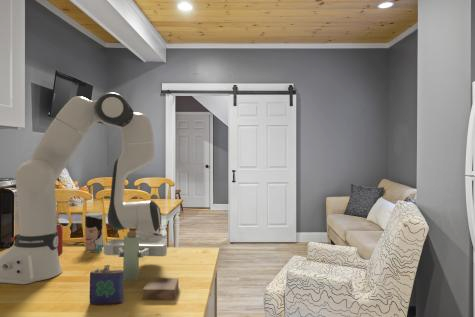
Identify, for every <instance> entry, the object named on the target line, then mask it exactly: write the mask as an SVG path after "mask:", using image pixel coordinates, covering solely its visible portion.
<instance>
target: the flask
mask: <svg viewBox="0 0 475 317" xmlns="http://www.w3.org/2000/svg"><path fill="white" fill-rule="evenodd" d="M110 267H111V265H110V264H106V265H104V266H103V268H102V269H100V268H96V269H94V270H91V271H90V272H89V305H91V306H105V305H107V306H111V305H119V304H120V305H122V304H123V303H124V300H125V296H124V295H125V294H124V290H125V288H124V287H125V286H124V283H125V282H124V281H125V280H124V271H123V269H116V270H114V269H113V270H110Z"/></svg>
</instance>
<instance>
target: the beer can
mask: <svg viewBox="0 0 475 317" xmlns="http://www.w3.org/2000/svg"><path fill="white" fill-rule="evenodd" d="M56 230H57V231H58V247H57V251H58V255H60V254H62V253H63V226H62V223H61V222H56Z"/></svg>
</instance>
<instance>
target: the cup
mask: <svg viewBox="0 0 475 317" xmlns="http://www.w3.org/2000/svg"><path fill="white" fill-rule="evenodd" d="M103 216H104V215H103V212H88V213H85V216H84V222H85V224H84V226H85V229H84V231H85V232H84V233H85V234H84V235H85V236H84V238H85V239H84V241H85V242H84V244H85V246H84V249H85V250H86V252H87V251H96V252H100V251H102V250H103V249H104V244H103V241H104V240H103V235H104V234H103V230H104V228H103V224H104V223H103V220H104V219H103ZM102 248H103V249H102Z"/></svg>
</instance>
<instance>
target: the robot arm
mask: <svg viewBox="0 0 475 317" xmlns="http://www.w3.org/2000/svg"><path fill="white" fill-rule="evenodd" d="M95 123H99V124H102V125H106V126H115V127H117V128H118V129H119V131H120V132H121V139H122V149H121V150H122V151H121V154H120V157H119V158H118V159H116V160H115V161H114V164H113V169H112V178H111V185H110V186H111V187H110V199H109V205H108V206H109V207H108V211H107V224H108V225H109V226H110V227H111V228H112V229H113V230H116V231H122V230H128V229H136V230H134V231H135V232H136V235H138V236H139V252H138V258H139V259H141V258H142V259H143V258H144V257H166V256H167V253H168V252H167V251H168V240H167V235H166V234H161V233H160V228H161V225H162V212H161V209H160V207H159V205H158V204H157V203H156V202H155V201H153V200H139V201H124V194H125V184H126V179H127V177H128V176H129V175H130V174H131V173H133V172H136V171H138V170H140V169H142V168H144V167H145V166H147V165H148V164H150V163H151V162H152V160H153V158H154V156H155V140H154V134H153V129H152V123H151V121H150V118H149V116H147V115H146V114H145V113H142V112H135V111H134V110H133V109H132V106H131V105H130V104H129V103H128V101H127V99H126V98H125V97H124V96H122V95H121V94H120V93H116V92H112V91H111V92H106V93H104V94H102V95H101V96H99V97H98V99H96V100H90V99H88V98H86V97H84V96H80V95H79V96H77V95H76V96H74V97H72V98H71V99H69V100H68V101H67V103H66V104H64V106H63V107H61V109H60V110H59V112H58V113H56V116H55V118H54V119H53V120H52V121H51V123H50V125H49V126H48V128H47V129H46V130H45V132H44V133H43V135H42V136H41V138H40V139H39V142H38V144H37V146H36V148H35V149H34V151H33V153H32V154H31V156H30V158H29V159H28V160H27V161H25V162H23V163H21V165H19V167H18V168H17V170H16V172H15V187H16V188H15V189H16V198H17V205H18V214H19V215H18V222H19V223H18V226H19V227H18V233H17V234H16V235H14V236H13V237H11V238H10V239H11V240H10V242H14V243H13V245H12V246H10V247H9V248H8V249H6V250H5V251H3V253H2V254H0V283H2V284H3V283H4V284H15V285H27V284H28V285H29V284H31V283H34V282H40V281H44V280H48V279H51V278H54V277H56V276H58V275H60V274H61V273H62V271H63V269H62V265H61V264H60V259H59V254H58V251H57V247H58V231H57V230H56V223H57V203H56V188H55V186H56V184H55V183H56V182H57V180H58V179H59V178H60V177H61V176H60V175H61V174H62V173H63V170H64V169H65V168H66V166H67V165H68V163H69V162H70V160H71V158H72V157H73V155H74V154H75V151H76V150H77V148H78V147H79V145H80V144H81V142H82V141H83V140H84V138H85V137H86V134H88V132H89V130H90V129H91V127H92V126H93V125H94V124H95ZM103 254H104V255H105V256H118V258H124V238H123V239H120V238H119V239H118V238H116V239H111V240H109V241H107V242H105V243H104V244H103Z"/></svg>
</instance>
